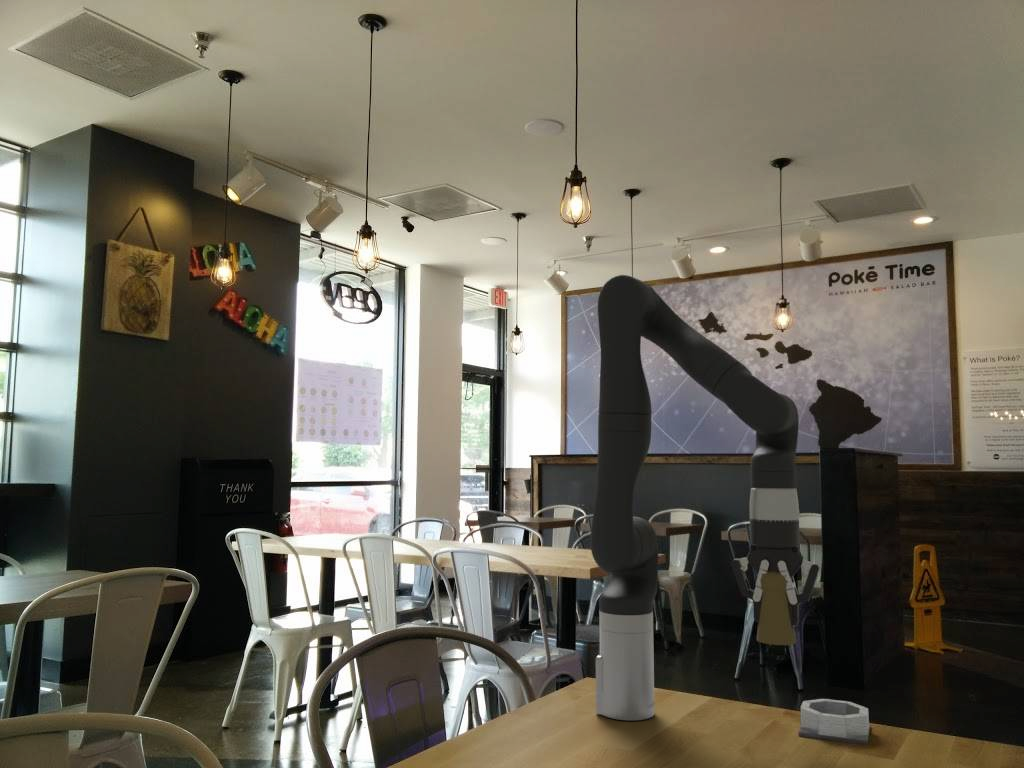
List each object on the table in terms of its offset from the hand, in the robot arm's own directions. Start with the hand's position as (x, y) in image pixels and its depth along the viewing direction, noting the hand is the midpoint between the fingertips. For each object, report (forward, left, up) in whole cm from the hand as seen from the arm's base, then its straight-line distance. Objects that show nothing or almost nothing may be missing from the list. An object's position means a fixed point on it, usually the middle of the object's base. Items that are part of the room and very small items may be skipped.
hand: (776, 626), depth 134 cm
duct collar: (+8, +8, -17) cm, 20 cm away
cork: (0, 0, -3) cm, 3 cm away
